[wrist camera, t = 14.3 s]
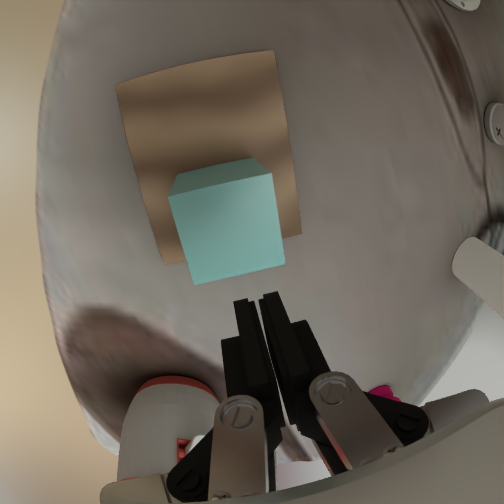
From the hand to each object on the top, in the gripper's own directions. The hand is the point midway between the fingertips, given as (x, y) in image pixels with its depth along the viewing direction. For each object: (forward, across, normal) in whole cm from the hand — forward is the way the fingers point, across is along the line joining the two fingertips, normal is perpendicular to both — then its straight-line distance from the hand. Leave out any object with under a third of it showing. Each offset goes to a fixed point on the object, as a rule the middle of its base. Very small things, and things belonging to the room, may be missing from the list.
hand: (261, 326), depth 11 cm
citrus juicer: (+19, +13, +27) cm, 36 cm away
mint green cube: (+18, 0, 0) cm, 18 cm away
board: (+19, 0, -4) cm, 19 cm away
